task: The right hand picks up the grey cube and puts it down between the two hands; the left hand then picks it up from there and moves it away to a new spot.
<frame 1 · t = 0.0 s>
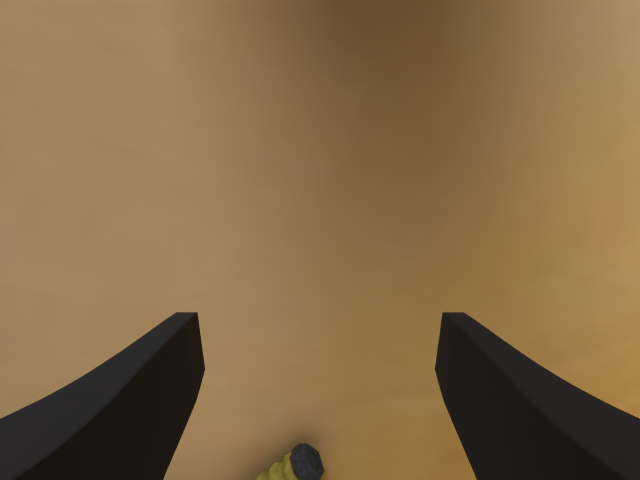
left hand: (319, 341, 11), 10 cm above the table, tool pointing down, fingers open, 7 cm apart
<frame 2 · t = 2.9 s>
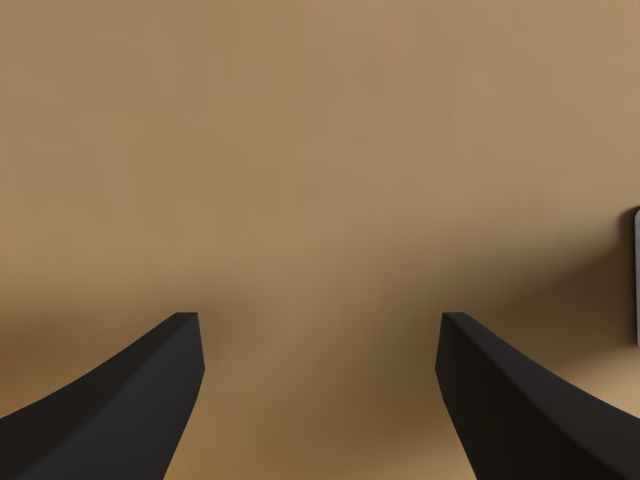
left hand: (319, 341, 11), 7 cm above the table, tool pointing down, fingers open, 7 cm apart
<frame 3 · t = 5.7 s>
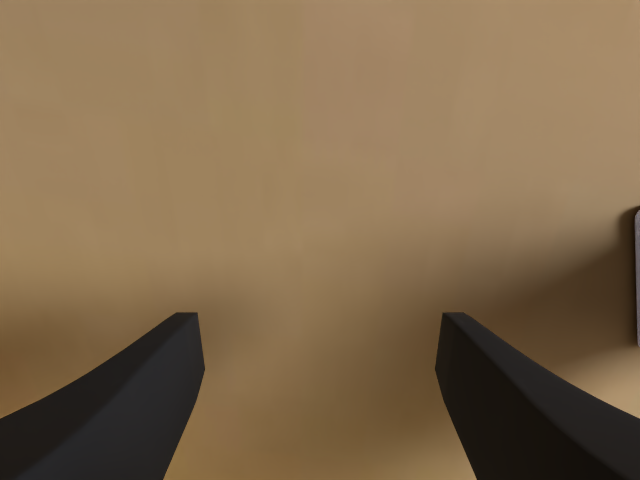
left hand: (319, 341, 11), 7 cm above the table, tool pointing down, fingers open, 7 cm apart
when the right hand's fingers open (1 cm above the table, at t = 8.8 s): grey cube stays where it is, on the table.
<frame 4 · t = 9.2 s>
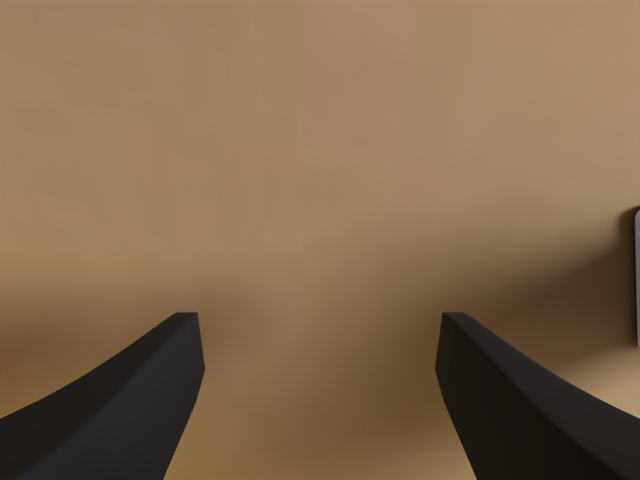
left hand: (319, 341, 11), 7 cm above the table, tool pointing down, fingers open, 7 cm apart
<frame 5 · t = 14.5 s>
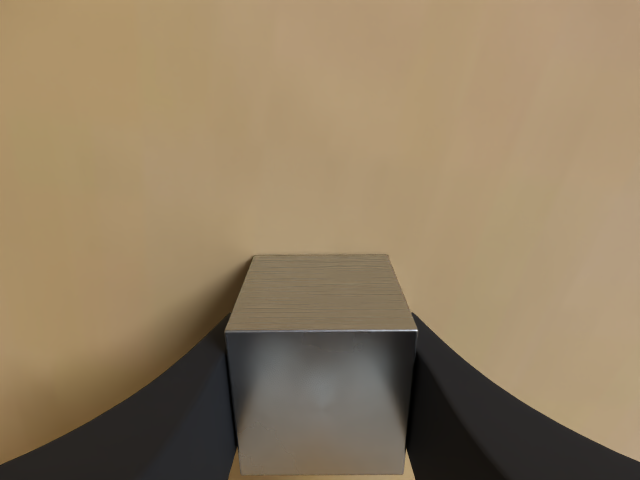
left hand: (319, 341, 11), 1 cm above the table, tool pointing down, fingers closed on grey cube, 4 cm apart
grey cube: (321, 315, 13), on the table, touching left hand
when the left hand's fingers open (2 cm above the table, at t = 19.1 s): grey cube stays where it is, on the table.
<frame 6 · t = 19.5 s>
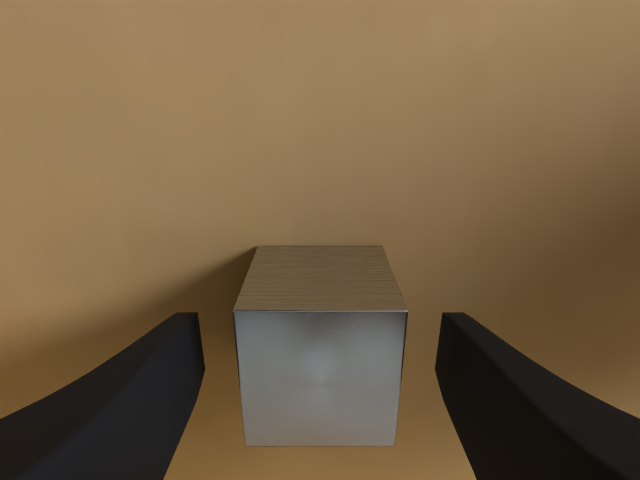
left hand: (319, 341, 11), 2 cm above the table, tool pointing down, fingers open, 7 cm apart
grey cube: (320, 303, 14), on the table
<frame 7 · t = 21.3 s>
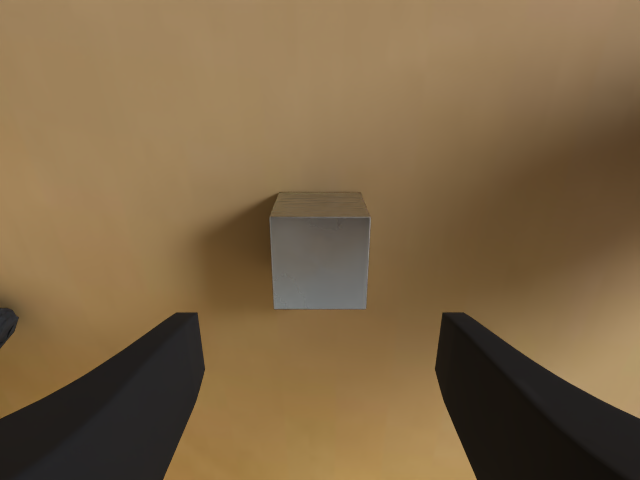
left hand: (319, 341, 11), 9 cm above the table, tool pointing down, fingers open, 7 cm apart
grey cube: (320, 232, 20), on the table
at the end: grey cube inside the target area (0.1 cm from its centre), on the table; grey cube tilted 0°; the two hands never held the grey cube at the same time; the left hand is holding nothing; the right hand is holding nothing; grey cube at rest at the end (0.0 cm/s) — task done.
